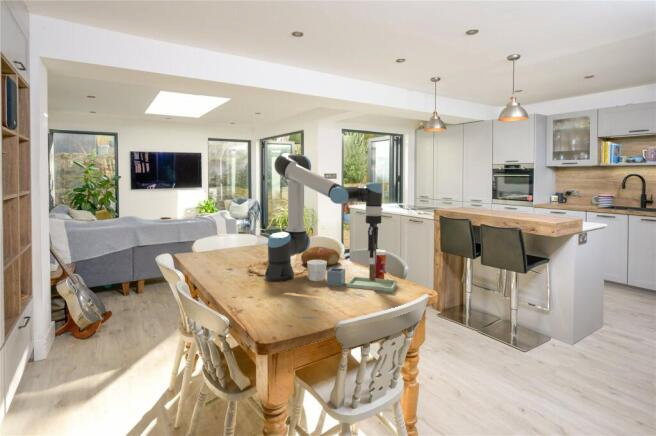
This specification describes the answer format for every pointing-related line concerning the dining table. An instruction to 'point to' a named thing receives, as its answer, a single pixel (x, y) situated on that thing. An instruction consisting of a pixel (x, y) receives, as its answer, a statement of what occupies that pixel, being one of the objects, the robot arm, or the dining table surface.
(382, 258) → the coffee cup
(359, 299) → the dining table surface
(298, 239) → the robot arm
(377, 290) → the tray
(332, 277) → the pot
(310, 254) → the bread
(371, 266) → the dowel
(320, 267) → the cup
